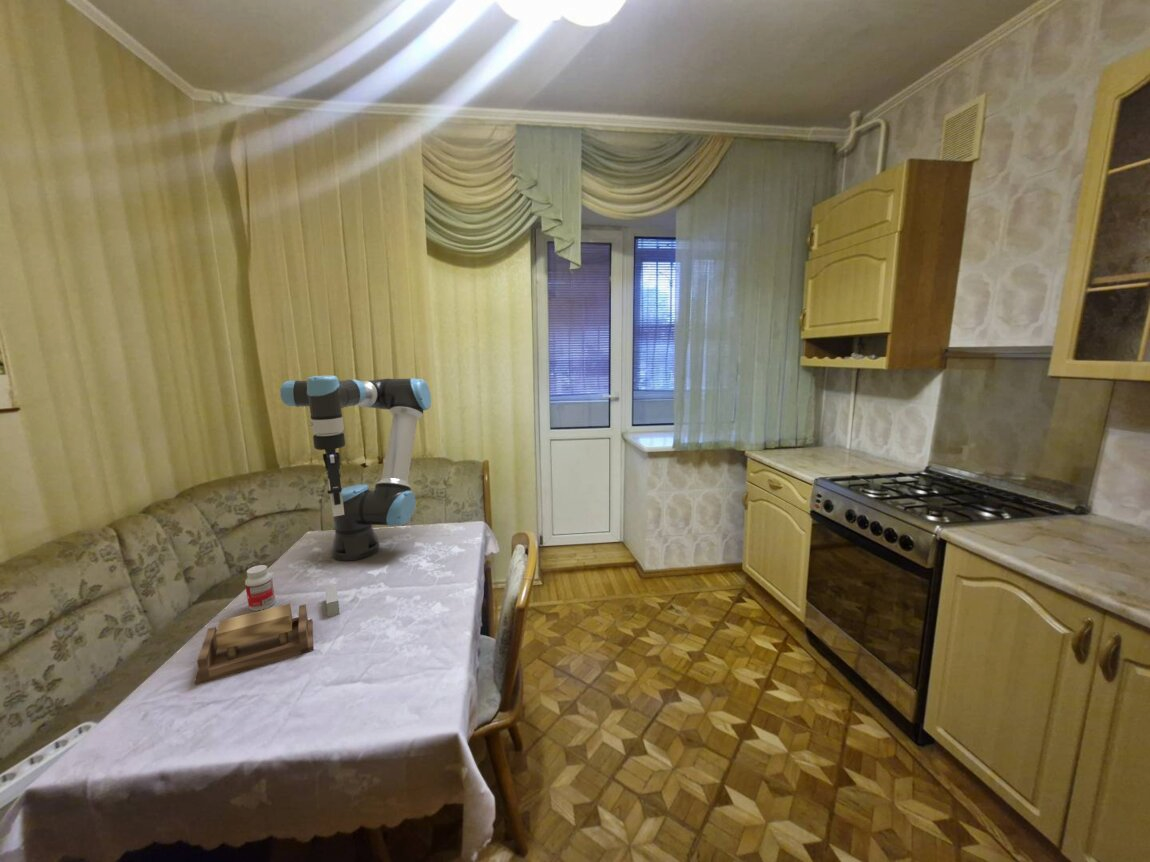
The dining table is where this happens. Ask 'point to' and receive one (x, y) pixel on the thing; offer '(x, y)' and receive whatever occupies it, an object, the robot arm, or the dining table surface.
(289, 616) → the plank
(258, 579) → the pill bottle
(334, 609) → the stand
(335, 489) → the robot arm
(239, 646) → the peg frame
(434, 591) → the dining table surface
